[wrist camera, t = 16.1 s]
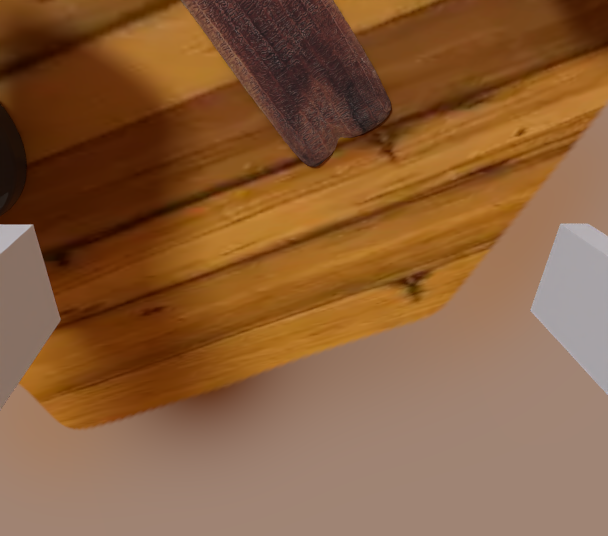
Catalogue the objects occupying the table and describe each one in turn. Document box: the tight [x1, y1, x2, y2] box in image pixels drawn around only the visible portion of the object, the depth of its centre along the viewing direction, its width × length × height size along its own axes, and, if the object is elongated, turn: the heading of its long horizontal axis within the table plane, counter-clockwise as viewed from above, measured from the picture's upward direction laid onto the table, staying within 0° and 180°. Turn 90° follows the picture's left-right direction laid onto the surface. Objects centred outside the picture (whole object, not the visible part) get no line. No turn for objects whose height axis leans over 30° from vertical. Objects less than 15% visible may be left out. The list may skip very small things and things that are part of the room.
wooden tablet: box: [181, 0, 391, 167], centre depth 35 cm, size 26×2×10 cm
